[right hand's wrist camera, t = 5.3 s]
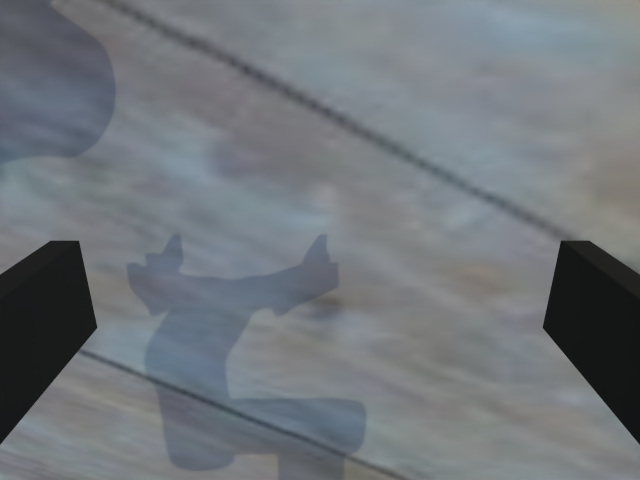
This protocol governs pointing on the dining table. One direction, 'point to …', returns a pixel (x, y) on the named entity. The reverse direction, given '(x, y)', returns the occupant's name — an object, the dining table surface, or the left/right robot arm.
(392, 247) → the dining table surface
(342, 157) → the dining table surface
